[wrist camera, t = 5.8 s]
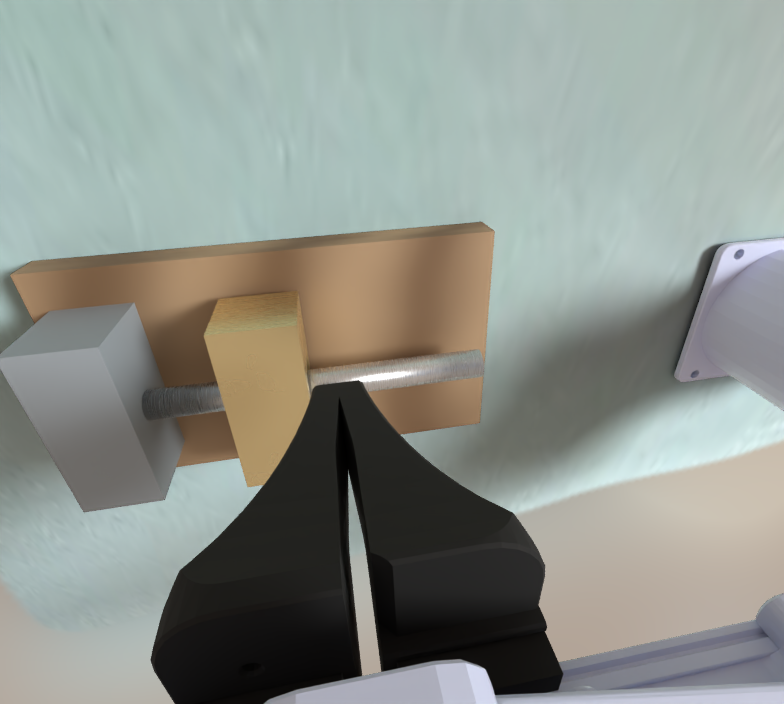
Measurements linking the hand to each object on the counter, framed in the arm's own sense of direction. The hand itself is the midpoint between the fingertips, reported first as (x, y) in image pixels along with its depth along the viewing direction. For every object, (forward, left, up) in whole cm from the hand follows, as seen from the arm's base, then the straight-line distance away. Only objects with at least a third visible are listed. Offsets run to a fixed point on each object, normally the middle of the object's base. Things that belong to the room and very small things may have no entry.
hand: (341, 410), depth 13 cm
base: (+2, +2, -8) cm, 9 cm away
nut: (+3, +2, -6) cm, 7 cm away
